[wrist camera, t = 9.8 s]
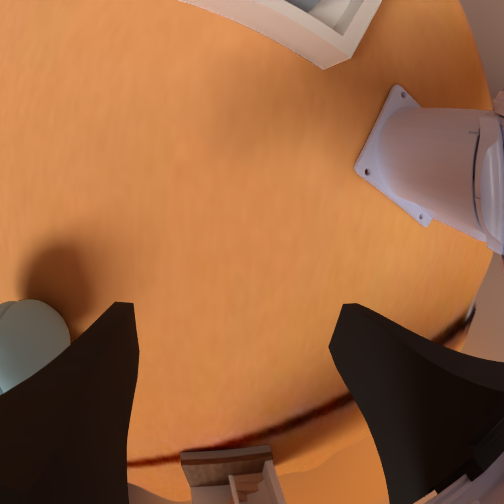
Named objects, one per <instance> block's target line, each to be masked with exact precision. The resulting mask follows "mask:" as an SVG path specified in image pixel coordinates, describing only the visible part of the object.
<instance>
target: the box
mask: <svg viewBox="0 0 504 504" xmlns="http://www.w3.org/2000/svg"><path fill="white" fill-rule="evenodd" d="M178 1H181V2H184V3H188V4H191V5H194V6H196V7H199V8H202V9H205V10H208V11H210V12H213V13H215V14H218V15H221V16H223V17H225V18H228V19H230V20H232V21H235V22H237V23H239V24H242V25H244V26H246V27H248V28H250V29H252V30H254V31H256V32H258V33H260V34H262V35H264V36H266V37H268V38H270V39H272V40H274V41H276V42H278V43H279V44H281V45H283V46H285V47H287V48H288V49H290V50H292V51H293V52H295V53H297V54H298V55H300V56H302V57H303V58H305V59H307V60H308V61H310V62H311V63H313V64H314V65H316V66H318V67H319V68H321V69H322V70H325V69H327V68H330V67H332V66H334V65H337V64H339V63H341V62H344V61H346V60H348V59H351V57H352V55H353V54H354V52H355V50H356V48H357V46H358V44H359V42H360V41H361V39H362V37H363V35H364V33H365V31H366V29H367V28H368V26H369V24H370V22H371V20H372V18H373V17H374V15H375V13H376V11H377V9H378V7H379V6H380V4H381V2H382V0H178Z"/></svg>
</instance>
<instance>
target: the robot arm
mask: <svg viewBox="0 0 504 504" xmlns="http://www.w3.org/2000/svg"><path fill="white" fill-rule="evenodd" d="M401 93H402V95H403V98H402V96H401ZM493 105H494V108H495V110H494V111H490V110H479V109H463V108H422V107H421V106H420V105H419V104H418V103H417V102H416V101H415V100H414V99H413V98H412V97H411V96H410V95H409V94H408V93H407V92H406V91H405V90H404V89H403V88H402V87H401V86H400V85H394V86H392V88H391V90H390V93H389V95H388V97H387V99H386V101H385V103H384V106H383V108H382V110H381V112H380V114H379V116H378V118H377V120H376V122H375V125H374V127H373V129H372V131H371V133H370V135H369V137H368V139H367V141H366V143H365V145H364V147H363V149H362V151H361V153H360V155H359V157H358V159H357V161H356V163H355V165H354V170H355V172H356V173H357V174H358V175H359V176H361V177H362V178H363V179H365V180H366V181H368V182H369V183H370V184H372V185H373V186H374V187H376V188H377V189H378V190H379V191H381V192H382V193H383V194H385V195H386V196H387V197H388V198H390V199H391V200H392V201H393V202H395V203H396V204H397V205H398V206H400V207H401V208H402V209H403V210H404V211H406V212H407V213H408V214H409V215H410V216H412V217H413V218H414V219H415V220H416V221H417V222H419V223H420V224H421V225H422V226H424V227H427V226H429V224H430V222H431V220H432V218H433V219H435V220H437V221H439V222H442V223H444V224H446V225H448V226H450V227H452V228H454V229H457V230H459V231H461V232H463V233H465V234H467V235H469V236H471V237H473V238H475V239H477V240H480V241H483V242H487V248H489V249H491V250H493V251H494V252H497V253H498V254H500V265H501V269H502V271H503V274H504V90H500V92H499V93H498V95H497V97H496V98H494V99H493ZM366 169H367V170H368V172H367V174H366V175H365V170H366ZM419 216H420V217H419ZM328 347H329V350H330V353H331V355H332V358H333V361H334V363H335V366H336V368H337V370H338V372H339V374H340V375H341V377H342V379H343V381H344V383H345V384H346V386H347V388H348V389H349V391H350V393H351V395H352V396H353V398H354V400H355V402H356V403H357V405H358V407H359V408H360V410H361V412H362V414H363V416H364V418H365V420H366V422H367V424H368V427H369V429H370V432H371V434H372V437H373V439H374V442H375V445H376V447H377V451H378V453H379V456H380V459H381V463H382V467H383V470H384V474H385V478H386V484H387V489H388V495H389V502H390V504H413V503H415V502H417V501H418V500H420V499H421V498H423V497H424V496H426V495H428V494H429V493H431V492H432V491H433V490H435V491H436V492H437V494H438V495H437V496H435V497H433V498H432V499H430V500H429V501H427V502H426V503H425V504H504V362H496V361H491V360H486V359H481V358H477V357H473V356H470V355H466V354H463V353H460V352H457V351H454V350H452V349H449V348H446V347H444V346H441V345H439V344H437V343H434V342H432V341H430V340H428V339H426V338H424V337H422V336H420V335H418V334H416V333H414V332H412V331H410V330H408V329H406V328H404V327H402V326H401V325H399V324H397V323H395V322H393V321H391V320H390V319H388V318H386V317H384V316H382V315H380V314H378V313H377V312H375V311H373V310H371V309H369V308H367V307H364V306H362V305H360V304H357V303H351V304H343V306H342V309H341V312H340V315H339V318H338V321H337V324H336V327H335V330H334V333H333V335H332V338H331V341H330V344H329V346H328ZM139 352H140V351H139V345H138V338H137V330H136V322H135V313H134V304H133V303H126V302H115V303H114V304H112V305H111V306H110V307H109V308H108V309H107V310H106V311H105V312H104V313H103V314H102V315H101V316H100V317H99V318H98V319H97V320H96V321H95V322H94V323H93V324H92V325H91V326H90V327H89V328H88V329H87V330H86V331H85V332H84V333H83V334H82V335H81V336H80V337H79V338H77V339H76V340H75V341H74V342H73V343H72V344H71V345H70V346H68V347H67V348H66V349H65V350H64V351H63V352H62V353H61V354H59V355H58V356H57V357H56V358H55V359H53V360H52V361H51V362H50V363H48V364H47V365H46V366H44V367H43V368H42V369H40V370H39V371H38V372H36V373H35V374H33V375H32V376H31V377H29V378H27V379H26V380H24V381H23V382H21V383H19V384H18V385H16V386H15V387H13V388H11V389H10V390H8V391H6V392H5V393H3V394H1V395H0V504H129V499H128V486H127V437H128V429H129V422H130V416H131V410H132V404H133V399H134V393H135V388H136V383H137V376H138V364H139Z"/></svg>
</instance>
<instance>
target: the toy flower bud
mask: <svg viewBox="0 0 504 504" xmlns="http://www.w3.org/2000/svg"><path fill="white" fill-rule="evenodd" d="M70 345H71V342H70V334H69V330H68V327H67V325H66V323H65V321H64V319H63V318H62V317H61V315H60V314H59V313H58V312H57V311H56V310H55V309H53V308H52V307H51V306H49V305H48V304H46V303H44V302H42V301H39V300H33V299H26V300H20V301H8V302H4V303H2V304H0V395H1V394H3V393H5V392H6V391H8V390H10V389H11V388H13V387H15V386H16V385H18V384H19V383H21V382H23V381H24V380H26V379H27V378H29V377H31V376H32V375H33V374H35V373H36V372H38V371H39V370H40V369H42V368H43V367H44V366H46V365H47V364H48V363H50V362H51V361H52V360H53V359H55V358H56V357H57V356H58V355H59V354H61V353H62V352H63V351H64V350H65V349H66V348H67V347H68V346H70Z"/></svg>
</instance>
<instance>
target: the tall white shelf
mask: <svg viewBox="0 0 504 504" xmlns="http://www.w3.org/2000/svg"><path fill="white" fill-rule="evenodd" d="M180 457H181V466H182V469H183V471H184V473H185V476H186V478H187V480H188V483H189V485H190V488H191V496H192V503H193V504H286V502H285V499H284V496H283V493H282V490H281V487H280V483H279V481H278V477H277V474H276V471H275V468H274V465H273V461H272V459H273V455H272V452H271V448H270V445H269V444H268V445H261V446H255V447H247V448H239V449H230V450H218V451H203V452H180Z"/></svg>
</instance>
